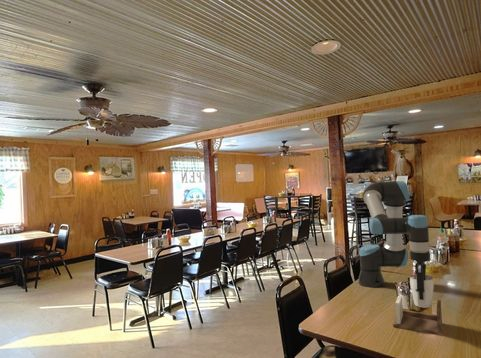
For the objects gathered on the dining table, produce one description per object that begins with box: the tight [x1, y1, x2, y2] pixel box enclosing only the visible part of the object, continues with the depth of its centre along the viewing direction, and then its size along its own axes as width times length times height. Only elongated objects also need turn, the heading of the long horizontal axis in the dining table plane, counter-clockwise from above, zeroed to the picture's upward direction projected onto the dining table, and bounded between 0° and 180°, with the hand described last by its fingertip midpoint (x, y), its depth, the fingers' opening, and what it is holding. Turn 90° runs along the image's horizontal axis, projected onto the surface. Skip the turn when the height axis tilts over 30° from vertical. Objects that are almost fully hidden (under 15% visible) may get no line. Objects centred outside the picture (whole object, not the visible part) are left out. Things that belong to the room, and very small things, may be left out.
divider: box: [394, 295, 404, 324], centre depth 147 cm, size 2×11×9 cm, turn 147°
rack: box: [392, 299, 443, 336], centre depth 143 cm, size 18×13×10 cm
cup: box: [409, 274, 435, 309], centre depth 142 cm, size 9×9×12 cm
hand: (422, 302), depth 141 cm, fingers closed on cup, 9 cm apart
